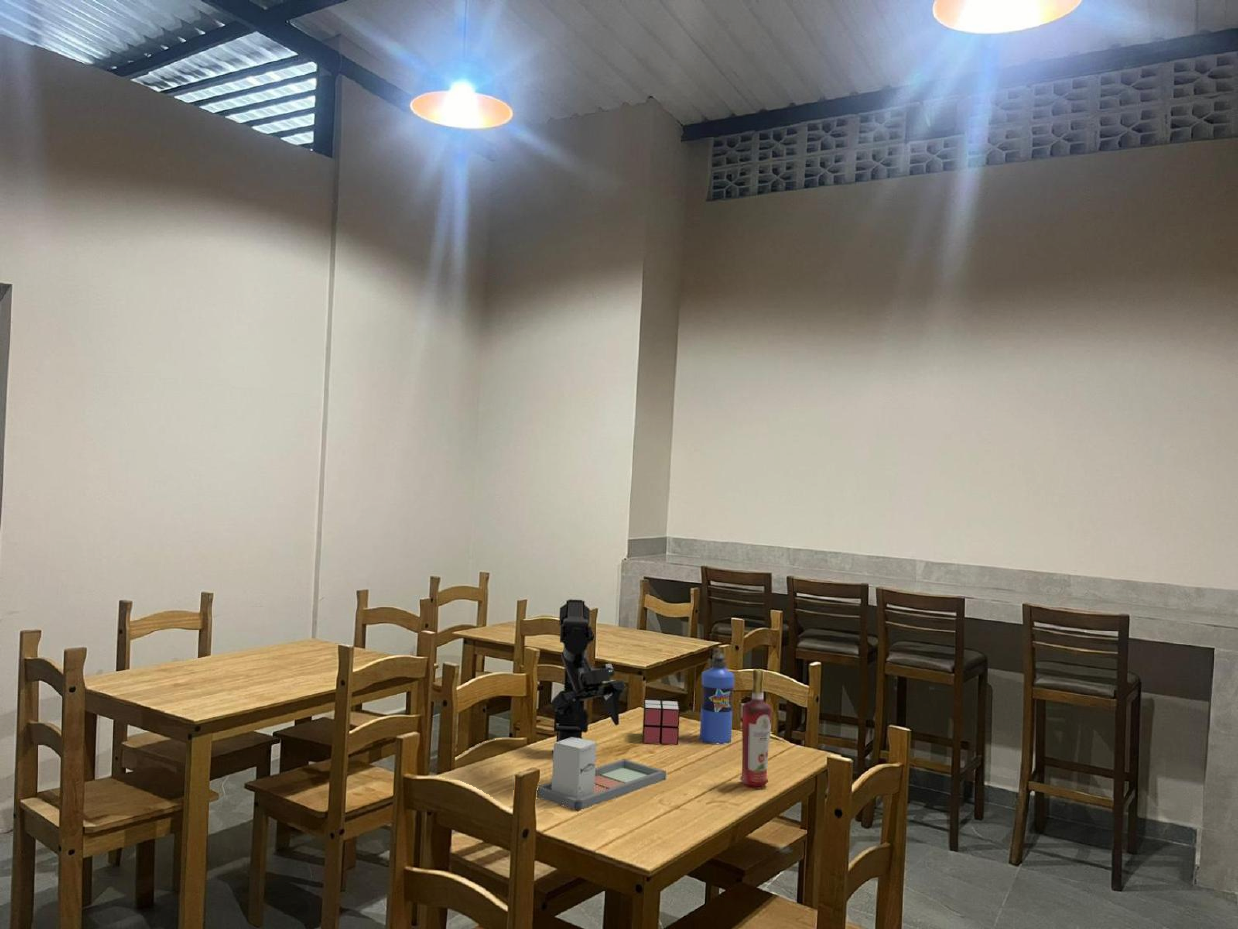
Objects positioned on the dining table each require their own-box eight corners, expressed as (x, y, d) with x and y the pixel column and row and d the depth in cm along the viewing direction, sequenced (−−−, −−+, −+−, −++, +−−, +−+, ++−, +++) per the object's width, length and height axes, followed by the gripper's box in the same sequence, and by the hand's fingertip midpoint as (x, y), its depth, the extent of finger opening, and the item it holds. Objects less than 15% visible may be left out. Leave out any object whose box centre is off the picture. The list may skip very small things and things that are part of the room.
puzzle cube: (678, 745, 252) (679, 709, 252) (642, 743, 252) (644, 707, 252) (676, 736, 262) (678, 701, 262) (642, 734, 262) (643, 699, 262)
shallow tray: (534, 795, 205) (534, 787, 205) (623, 766, 230) (623, 759, 230) (578, 811, 196) (578, 802, 196) (665, 779, 221) (666, 771, 221)
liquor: (759, 779, 225) (764, 666, 226) (774, 788, 218) (779, 672, 219) (733, 781, 222) (738, 667, 223) (748, 791, 215) (753, 673, 216)
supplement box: (576, 805, 200) (579, 748, 200) (549, 798, 204) (552, 742, 204) (595, 797, 206) (597, 741, 206) (568, 790, 210) (571, 735, 210)
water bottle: (695, 735, 263) (699, 649, 264) (726, 735, 265) (729, 650, 265) (704, 744, 254) (708, 655, 255) (735, 744, 256) (739, 656, 256)
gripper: (561, 658, 210) (585, 720, 202) (624, 648, 221) (649, 706, 213) (541, 680, 217) (563, 741, 209) (603, 669, 228) (626, 726, 220)
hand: (602, 728), depth 213 cm, fingers open, 9 cm apart
